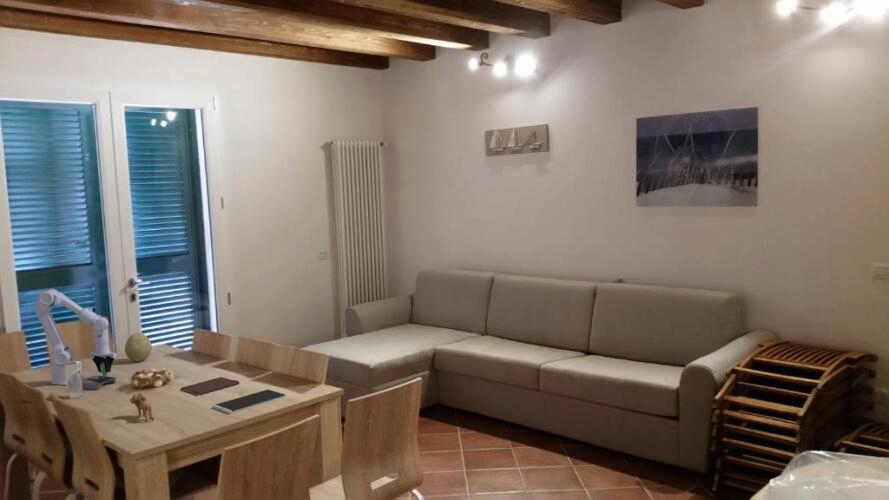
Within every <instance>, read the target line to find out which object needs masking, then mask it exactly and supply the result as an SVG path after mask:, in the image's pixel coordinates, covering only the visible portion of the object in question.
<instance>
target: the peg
mask: <svg viewBox="0 0 889 500" xmlns="http://www.w3.org/2000/svg"><path fill="white" fill-rule="evenodd" d="M100 369H101V372H100V374H102V376H106V377H111V376H110V375H108V373H106V371H105V365H104V362H103V363H101V364H100Z"/></svg>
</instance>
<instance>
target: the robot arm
mask: <svg viewBox="0 0 889 500" xmlns="http://www.w3.org/2000/svg"><path fill="white" fill-rule="evenodd" d="M53 306H63V307H65V308H66V309H68V310H70V311H71V312H73V313H75V314H77V317H78V319H79V320H81V321H82V322H83V323H85V324H87V325H89V326H90V327H91V328H92V330H93V332H94V343H95V344H94V345H95V351H91V352H89V357H93V358H92V360H91V361H92V362H93V363H94V364H95V367H96V369H97V371H98V373H101V369H100V364H101V363H104V365H105V371H106V373H107V374H108V373H110V372H111V371H112V365H113V362H114V360H115V359H116V358H117V357H118V355H117V352H112V351H111V350H110V341H109V332H108V326H109V325H110V323H109V321H108V319H107V318H106V317H103V316H101V315H98V314H97V313H95V312H93V309H92V308H87V307H86V308H84V307H81V306H80V305H78V304H77V303H76V302H74V301H73V300H72V299H71V298H69V297H68V296H66V295H65V294H64V293H62V292H61V291H59V290H57V289H54V288H50V289H48V290H46V291H43V292H41V293H40V294H39V295H38V297H37V299H36V308H35V314H36V315H37V317H38V320H39V322H40V324H41V326H42V328H43V330H44V332H45V334H46V336H47V339H48V341H49V343H50V344H51V347H52V356H53V361H54V363H55V364H53V365H52V367H51V368H50V369H51V370H50V374H51V375H50V376H51V382H50V384H51V385H59V386H68V384H67V381H66V377H65V363H68V362H72V361H74V360H73V359H74V357H75V351H74V350H73V349H72V348H71V347H70V346H69V344H68V343H66V342H65V340H64V338H63V336H62V333H61V332H60V330H59V328H58V326H57V323H56V322H55V319H54V317H53V315H52V313H51V311H52V308H53Z"/></svg>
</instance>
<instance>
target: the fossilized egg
mask: <svg viewBox="0 0 889 500" xmlns="http://www.w3.org/2000/svg"><path fill="white" fill-rule="evenodd" d="M152 348H153V346H152V342H151V340H150V339H149V338H148V336H147V335H146V334H144V333H142V332H135V333H132V334H131V335H130V337H128V338H127V340H126V342H125V346H124V353H125V355H126V357H127V358H128V359H129V360H131V361H133V362H137V363H138V362H143V361H145V360H146V359H147V358H148V357H150V355H151V354H152Z"/></svg>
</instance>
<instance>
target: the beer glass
mask: <svg viewBox="0 0 889 500" xmlns="http://www.w3.org/2000/svg"><path fill="white" fill-rule="evenodd" d="M65 377H66V381H67V384H68V385H67V386H68V399H70V400H74V399H75V400H76V399H80V398H83V397H85V392H84V389H83V379H84V365H83V361H82V360H73V361H72V362H68V363H65Z"/></svg>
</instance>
